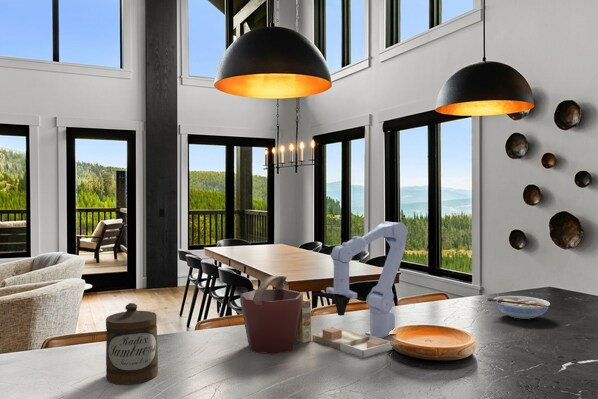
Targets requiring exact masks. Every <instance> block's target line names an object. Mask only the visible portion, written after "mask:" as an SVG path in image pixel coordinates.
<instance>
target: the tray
mask: <svg viewBox="0 0 598 399" xmlns="http://www.w3.org/2000/svg"><path fill="white" fill-rule="evenodd" d="M368 336H369V340H372V339H376V338H377V339H380V340H384V341H387V343H386V344H382V345H378V346H375V347H371V348H367V342H364V343H360V344H357V345H353V346H350V345H348V344H345V343H340V350H339V351H343V352H345V353H348V354H350V355H353V356H357V357H359V358H363V359H365V358H368V357H371V356H374V355H379V354H382V353H385V352H388V351H392V350H393V349H392V346H391V344H390V342H389V341H390V340H387V339H384V338H379V337H375V336H372V335H369V334H368Z"/></svg>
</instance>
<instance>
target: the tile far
mask: <svg viewBox="0 0 598 399" xmlns="http://www.w3.org/2000/svg"><path fill="white" fill-rule="evenodd" d="M322 332H323V337H326V338H329V339H335V338H339V337H342V330H340V329H339V328H336V327H334V326H333V327H328V328H324V329H322Z"/></svg>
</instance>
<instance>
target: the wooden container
mask: <svg viewBox="0 0 598 399" xmlns="http://www.w3.org/2000/svg"><path fill="white" fill-rule="evenodd" d="M137 309H138V304H136V303H134V302H130V303H128V304H126V305H125V310H126V311H122V312H121V311H120V312H117V313H113V314H111V315H109V316H107V317H106V319H105V330H106V336H105V337H106V338H105V339H106V342H105V343H106V345H105V348H106V349H105V355H106V356H105V372H106V373H105V374H106V375H105V377H106V381H107V382H109V383H111V384H114V385H124V386H125V385H127V384H128V385H136V384H140V383H145V382H148V381H150V380H152V379H154V378H155V377H156V376H157V375H158V371H159V369H158V368H159V367H158V366H159V362H158V361H159V356H158V353H159V350H158V349H159V348H158V325H157V320H158V318H157V313H155V312H154V311H148V310H137Z"/></svg>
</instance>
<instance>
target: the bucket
mask: <svg viewBox="0 0 598 399" xmlns="http://www.w3.org/2000/svg"><path fill="white" fill-rule="evenodd" d="M287 277H288V276H284V275H271V276H269V277H268V276H267V277H266V278H265V279H264V280H263V281H262V282H261V284H260V285H259V286H258V288H256V289H254V290H251V291H247V292H243V293H240V294H239V295H240V296H239V299H240V300H239V301H240V307H241V312H242V313H241V314H242V318H243V323H244V329H245V333H246V334H245V335H246V340H247V345H248V347H249V348H250V350H251V352H253V353H260V354H267V355H268V354H269V355H275V354H280V353H287V352H291V351H292V350H293V349H294V347H295V345H296V341H297V340H296V336H297V331H298V325H299V320H300V314H301V309H302V303H303V298H304V293H303V292H299V291H295V290H291V289H290V290H289V289H286V287H285V286H286V285H285V282H286V280H287V279H288V278H287ZM276 279H277V281H276V283H275V288H269V287H270V285H271V283H273V281H275V280H276ZM268 288H269V289H268Z"/></svg>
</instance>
